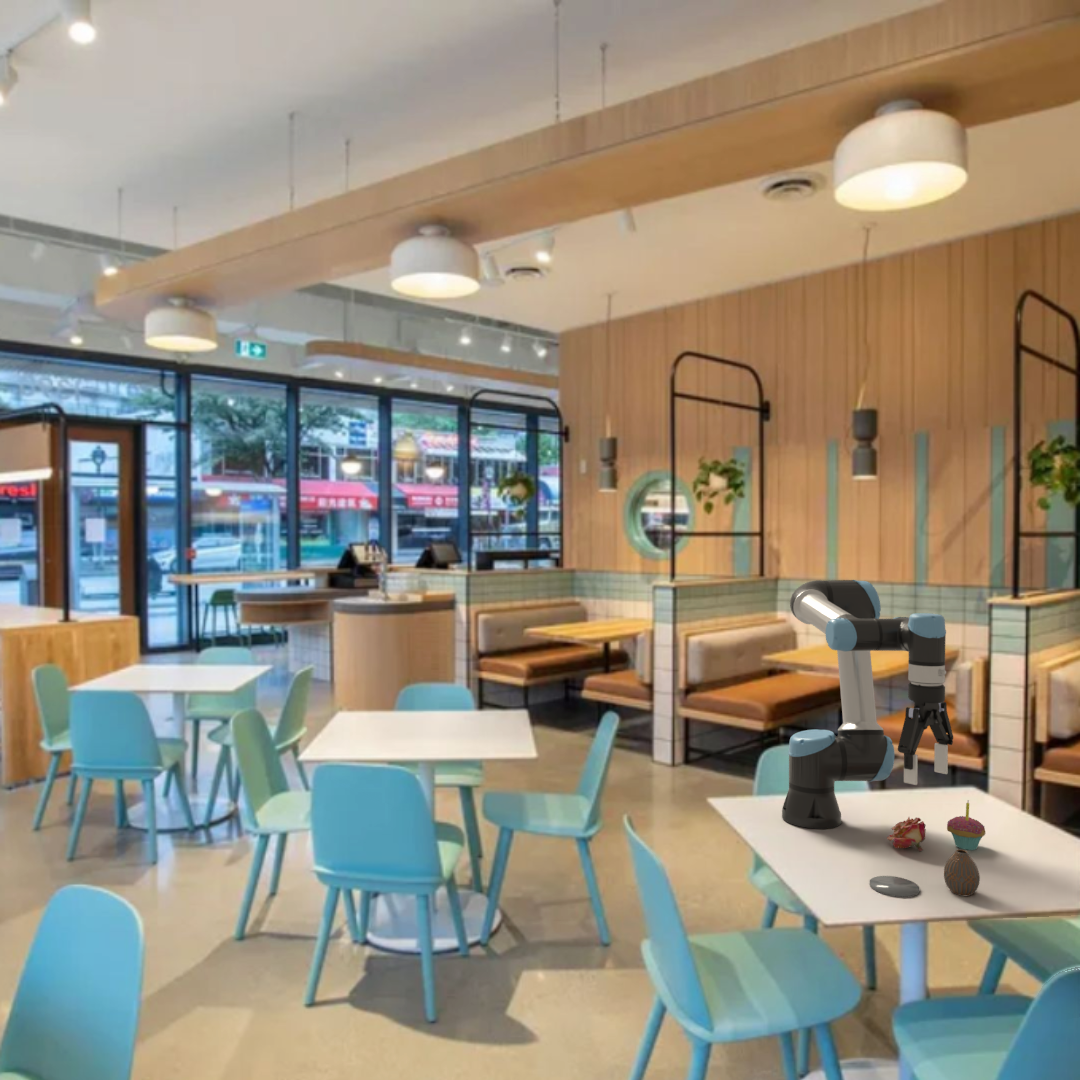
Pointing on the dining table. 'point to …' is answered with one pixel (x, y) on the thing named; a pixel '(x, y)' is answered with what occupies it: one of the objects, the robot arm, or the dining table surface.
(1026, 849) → the dining table surface
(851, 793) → the dining table surface
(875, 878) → the grey flat disc
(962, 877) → the vase
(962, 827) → the cupcake
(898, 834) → the flower
